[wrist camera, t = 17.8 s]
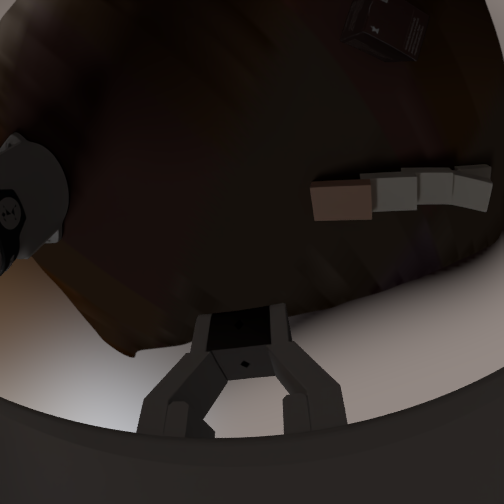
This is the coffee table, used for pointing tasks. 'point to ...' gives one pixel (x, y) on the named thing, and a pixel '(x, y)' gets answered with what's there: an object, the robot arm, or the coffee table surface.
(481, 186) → the domino
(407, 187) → the domino
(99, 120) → the coffee table surface
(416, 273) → the coffee table surface
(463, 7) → the coffee table surface
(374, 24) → the box
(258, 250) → the coffee table surface
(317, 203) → the domino
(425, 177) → the domino
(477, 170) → the domino
